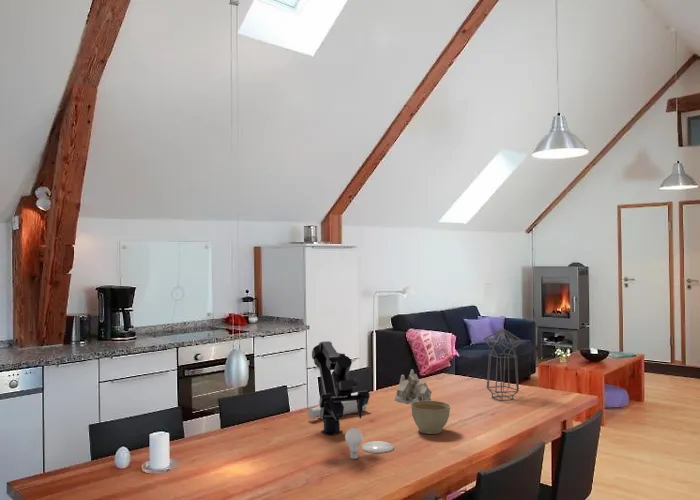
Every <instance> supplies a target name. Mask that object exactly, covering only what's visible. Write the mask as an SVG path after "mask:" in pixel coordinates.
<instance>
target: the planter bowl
mask: <svg viewBox="0 0 700 500" xmlns="http://www.w3.org/2000/svg"><path fill="white" fill-rule="evenodd" d="M410 407H411V416H412V419H413V420H414V423H415V425H416V426H417V428H418V431H419V432H421V433H423V434H428V435H436V434H440V433H442V432H443V430H444V427H446V425H447V423H448V421H449V418H450V412H451V411H450V409H451V404H450V403H447V402H444V401H438V400H431V401H417V402H413V403H410Z"/></svg>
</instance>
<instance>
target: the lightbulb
mask: <svg viewBox="0 0 700 500" xmlns="http://www.w3.org/2000/svg"><path fill="white" fill-rule="evenodd" d="M344 439H345V440H344V441H345V443H346V444H347V445H348V449H349V452H350V456H349V457H350V459H352V460H356V459H358V458H359V456H358V455H359V448H360V446H361V444H362V442H363V440H364V436H363V432H362V431H361V430H360V429H359V428H356V427H352V428H349V429H348V430H347V431H346V432H345V435H344Z"/></svg>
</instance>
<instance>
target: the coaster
mask: <svg viewBox="0 0 700 500" xmlns="http://www.w3.org/2000/svg"><path fill="white" fill-rule="evenodd" d="M361 449H362V450H363V451H365V452H368V453H373V454H384V453H388V452H392V451H393V450H394V444H393V443H390V442H387V441H381V440H379V441H377V440H376V441H375V440H373V441H368V442H365V443H363V444H362V445H361Z"/></svg>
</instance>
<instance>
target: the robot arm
mask: <svg viewBox="0 0 700 500" xmlns="http://www.w3.org/2000/svg"><path fill="white" fill-rule="evenodd" d="M311 358H312V360H313V363H314V365H315V366H316V367H317V368H318V369H319V375H320V380H321V384H322V390H323V393H321V394H320V397H319V401H318V403H319V404H318V405H320V407H321V410H320V417H321V418H320V417H319V418H320V419H321V420H323V430H320V433H323V434H325V435H329V436H333V435H337V434H340V433H342V432H343V430H340V429H341V426H340V424H341V423H340V419H343V417H344V415H343V410H344V406H343V403H341V402H344V401H357V409H358V412H357V413H358V417H359V419H362V415H363V411H362V407H363V406H365V404H367V403H368V404H369V400H370V398H371V396H370V395H371V394H370V392H369V391H368V390H358V391H357V392H358V394H357V395H351V394H352V393H354V392H353V389H355V388H357V387H358V386H359V384H358V379H357V377H354V378H351V379H348V375H349V373H350V370H351V366H352V361H353V360H352V359H351V358H350V357H349V356H347V355H346V354H345V353H342V352H341V353H340V352H337V350H336V349H335V347H334V346H333V343H332V341H321V342H319V343H318V345H316V346H314V347H313V348H312V351H311ZM331 371H332V372H331Z"/></svg>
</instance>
